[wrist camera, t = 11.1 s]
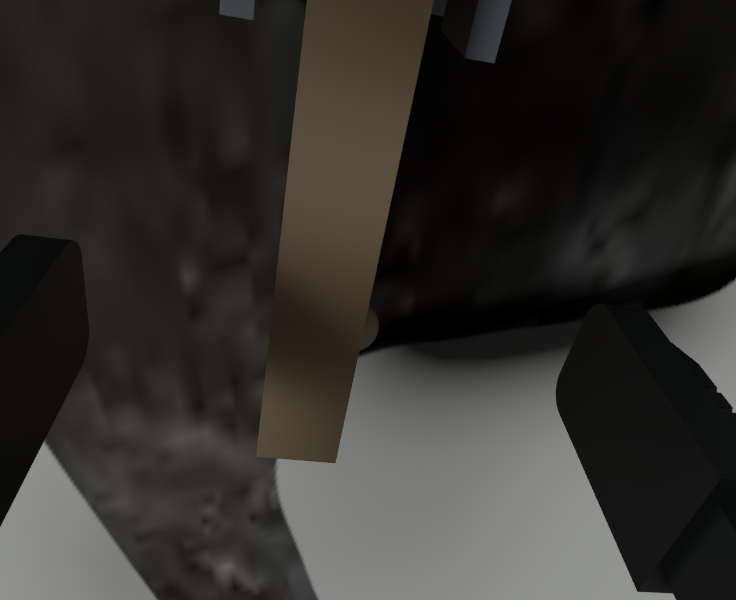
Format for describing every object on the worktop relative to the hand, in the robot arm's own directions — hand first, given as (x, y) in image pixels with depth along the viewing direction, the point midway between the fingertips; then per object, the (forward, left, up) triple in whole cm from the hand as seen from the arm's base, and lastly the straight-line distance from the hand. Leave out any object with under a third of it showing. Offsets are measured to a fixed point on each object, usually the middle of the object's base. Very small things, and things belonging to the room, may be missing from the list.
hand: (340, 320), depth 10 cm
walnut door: (0, 0, -14) cm, 14 cm away
